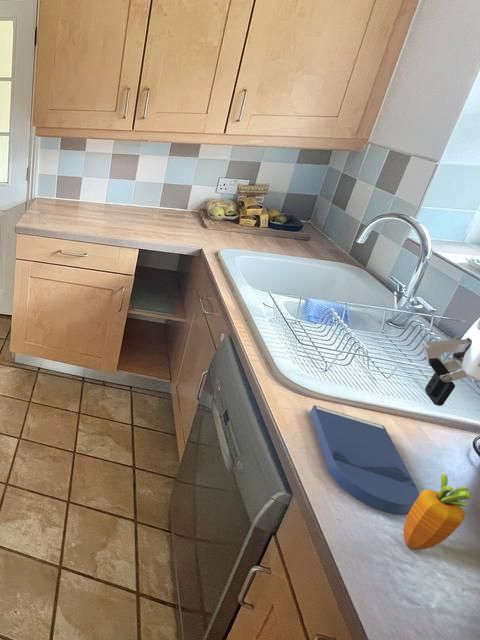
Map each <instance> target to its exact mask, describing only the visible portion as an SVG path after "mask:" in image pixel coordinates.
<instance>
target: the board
mask: <svg viewBox="0 0 480 640" xmlns="http://www.w3.org/2000/svg"><path fill="white" fill-rule="evenodd" d="M309 416H310V419H311V422H312V425H313V428H314V431H315V434H316V437H317V440H318V443H319V446H320V449H321V452H322V455H323V458H324V461H325V465H326V467H327V469H328V472H329V474H330V475H331V477H332V478H333V480H334V481H335V482H336V483H337V484H338V485H339V486H340V487H341V488H342V489H343V490H344V491H346V492H347V493H348V494H350V495H351V496H352V497H354V498H355V499H357V500H359V501H360V502H362V503H364V504H366V505H367V506H369V507H372V508H374V509H376V510H378V511H382V512H385V513H389V514H395V515H403V514H408V513H409V511H410V509H411V508H412V506H413V504H414V503H415V501H416V500H417V498H418V497H419V495H420V492H419V488H418V486H417V485H416V482H415V481H414V479H413V477H412V476H411V473H410V472H409V470H408V468H407V466H406V464H405V463H404V460H403V459H402V457H401V455H400V453H399V452H398V449H397V447H396V446H395V444H394V442H393V440H392V438H391V435H390V434H389V433H388V430H387V429H386V427H385V425H384V424H380V423H375V422H373V421H369V420H366V419H363V418H359V417H355V416H352V415H349V414H345V413H341V412H338V411H335V410H331V409H329V408H325V407H321V406H318V405H315V404H313V406H312V408H311V410H310V412H309Z"/></svg>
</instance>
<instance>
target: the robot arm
mask: <svg viewBox="0 0 480 640" xmlns="http://www.w3.org/2000/svg"><path fill="white" fill-rule="evenodd" d="M422 347H423V352H424V355H425V357H424V359H425V361H426V362H427V363H428V364H429V366H430V368H432V370H433V371H434V373H433V374H432V376H431V378H430V379H429V381H428V382H427V384H426V385H425V387H424V391H425V394H426V396H427V397H428V398H429V399H430V401H431V402H432V403H433V405H435V406H437V407H443V406H444V405H445V403H446V401H447V400H448V398H449V397H450V395H451V394H452V393H453V391H454V389H455V388H456V384H455V383H454V382H455V381H458V380H461V379H465V378H468V377H469V378H471V379H473V380H475V381H478V382H480V317H478V319H477V320H476V321H475V322H473V324H472V325H471V326H470V327H469V328H468V330H467V331H466V332H465V333H464V335H463V336H462V338H461V339H450V340H437V341H426V342H424V343H423V344H422ZM443 354H451V358H450V359H447V360H444V361H442V359H441V358H442V355H443Z"/></svg>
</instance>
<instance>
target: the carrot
mask: <svg viewBox="0 0 480 640" xmlns="http://www.w3.org/2000/svg"><path fill="white" fill-rule="evenodd" d="M448 479H449V478H448V474H444V473H441V474H440V491H436V490H430V489H423V490H422V491H421V492H420V493H419V497H418V498H417V500H416V501H415V503H414V504H413V506H412V508H411V509H410V511H409V512H408V513H407V515H406V518H405V520H404V523H403V530H402V531H403V540H404V543H405V545H406V547H407V548H408V550H413V551H421V550H427V549H432V548H433V547H435V546H438V545H439V544H440V543H442V542H444V541H445V540H447V539H448V538H449V537H450V536H451V535H453V533H454V532H455V531H456V530H457V529H458V528H459V527H460V525H462V523H463V521H464V520H465V519H464V518H465V517H466V511H465V510H464V509H463V508H462V507H466V508H467V507H468V504H467V503H466V502H464V500H469V499H471V498H472V493H470V488H469V487H467V486H460V487H457V488H456V489H453V487H452V486H451V485H448V483H449V481H448Z"/></svg>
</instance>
